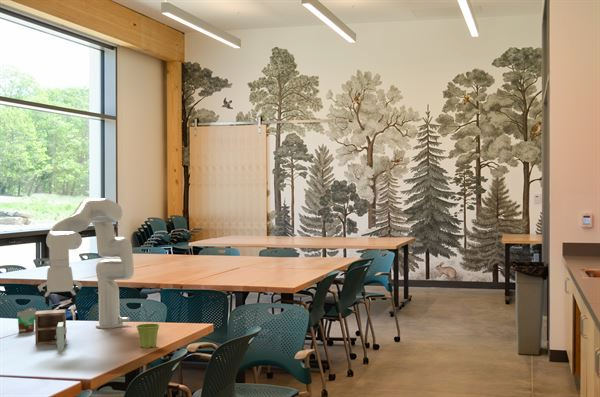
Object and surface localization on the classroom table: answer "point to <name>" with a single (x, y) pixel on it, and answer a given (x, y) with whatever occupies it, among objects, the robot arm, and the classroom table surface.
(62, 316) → the cabinet
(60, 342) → the door
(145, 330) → the plant pot
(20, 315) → the food container
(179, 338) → the classroom table surface
